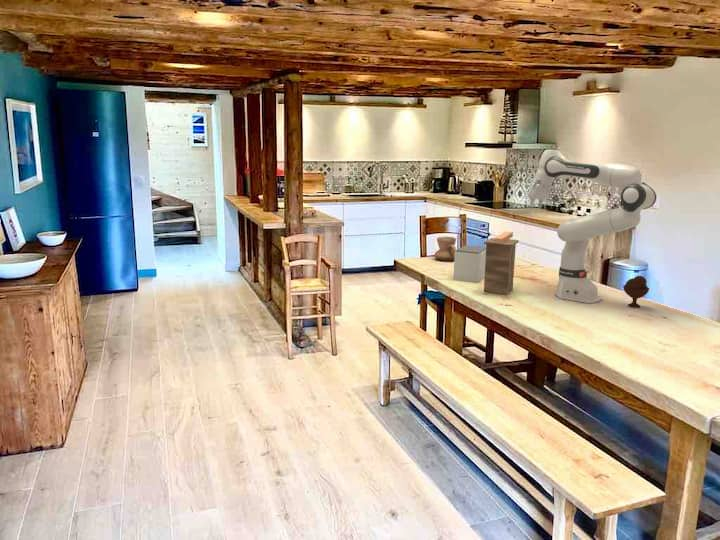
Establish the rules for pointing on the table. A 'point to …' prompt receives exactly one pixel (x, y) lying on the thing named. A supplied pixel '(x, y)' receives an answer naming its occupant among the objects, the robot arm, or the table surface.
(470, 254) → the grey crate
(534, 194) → the robot arm
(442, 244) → the ceramic jug
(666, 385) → the table surface
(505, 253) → the walnut stand
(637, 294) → the ice cream bowl
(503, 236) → the terracotta block
